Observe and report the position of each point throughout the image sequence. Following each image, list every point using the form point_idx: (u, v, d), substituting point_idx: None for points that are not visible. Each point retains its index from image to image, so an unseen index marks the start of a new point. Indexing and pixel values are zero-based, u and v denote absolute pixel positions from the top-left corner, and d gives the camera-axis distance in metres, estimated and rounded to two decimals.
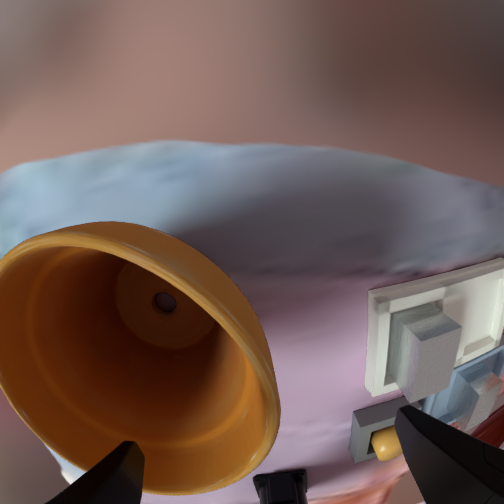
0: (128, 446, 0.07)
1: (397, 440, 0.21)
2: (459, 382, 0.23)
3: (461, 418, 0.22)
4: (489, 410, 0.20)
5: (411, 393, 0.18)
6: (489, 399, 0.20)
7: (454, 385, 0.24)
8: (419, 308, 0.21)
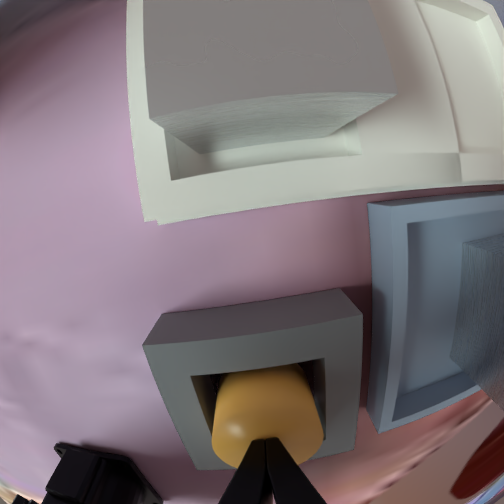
0: (262, 445, 0.07)
1: (264, 408, 0.07)
2: (475, 269, 0.09)
3: (494, 374, 0.08)
4: None
5: (146, 62, 0.04)
6: None
7: (463, 285, 0.10)
8: None
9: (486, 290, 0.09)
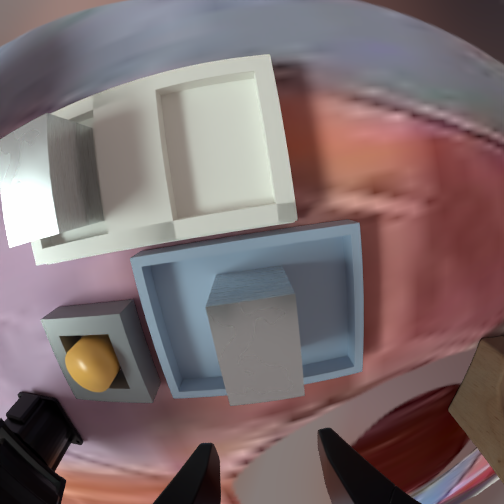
0: (208, 449, 0.07)
1: (78, 348, 0.15)
2: None
3: None
4: (294, 373, 0.14)
5: (7, 227, 0.11)
6: (264, 336, 0.13)
7: None
8: None
9: None
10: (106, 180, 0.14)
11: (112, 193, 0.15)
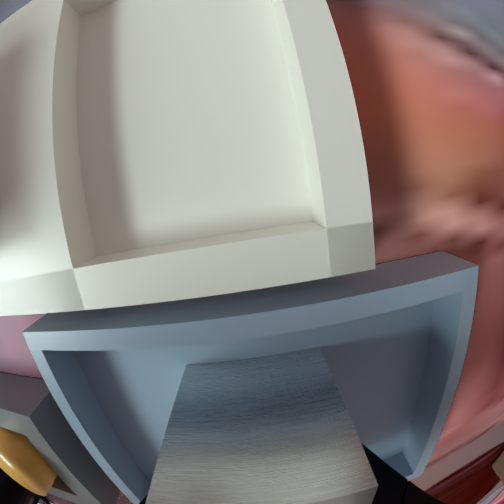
0: None
1: None
2: None
3: None
4: None
5: None
6: None
7: None
8: None
9: None
10: None
11: None
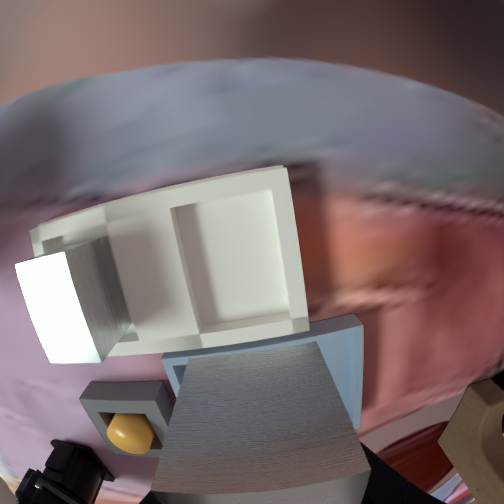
0: None
1: (120, 425, 0.17)
2: None
3: None
4: None
5: (44, 345, 0.13)
6: None
7: None
8: None
9: None
10: (131, 296, 0.16)
11: (139, 308, 0.16)
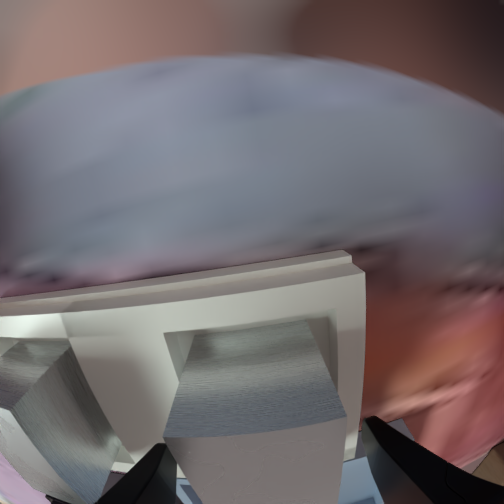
0: (162, 449, 0.07)
1: None
2: None
3: None
4: (325, 502, 0.06)
5: (21, 473, 0.06)
6: (279, 474, 0.06)
7: None
8: (47, 346, 0.10)
9: None
10: (119, 426, 0.10)
11: (131, 438, 0.10)
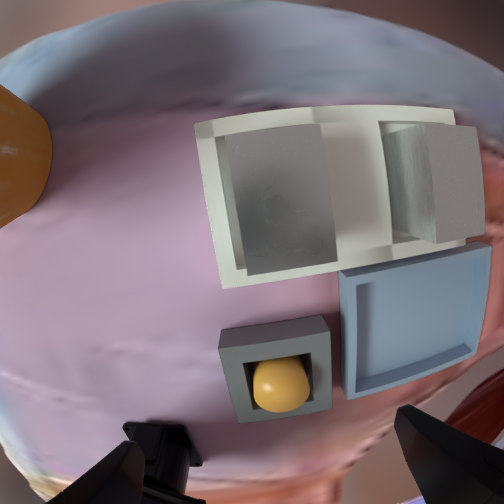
0: (128, 446, 0.07)
1: (280, 372, 0.17)
2: (391, 148, 0.15)
3: (420, 218, 0.13)
4: (480, 205, 0.12)
5: None
6: (462, 160, 0.11)
7: (388, 165, 0.16)
8: None
9: (399, 158, 0.14)
10: (334, 202, 0.16)
11: (340, 215, 0.16)
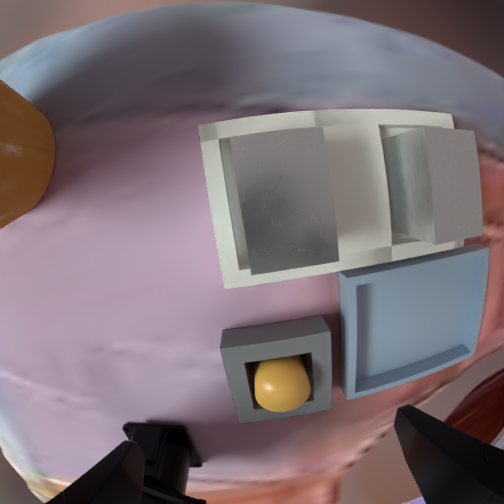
0: (128, 446, 0.07)
1: (281, 372, 0.17)
2: (390, 152, 0.15)
3: (419, 219, 0.14)
4: (478, 207, 0.12)
5: None
6: (460, 163, 0.12)
7: (387, 168, 0.16)
8: None
9: (398, 161, 0.15)
10: (335, 203, 0.16)
11: (340, 217, 0.16)
